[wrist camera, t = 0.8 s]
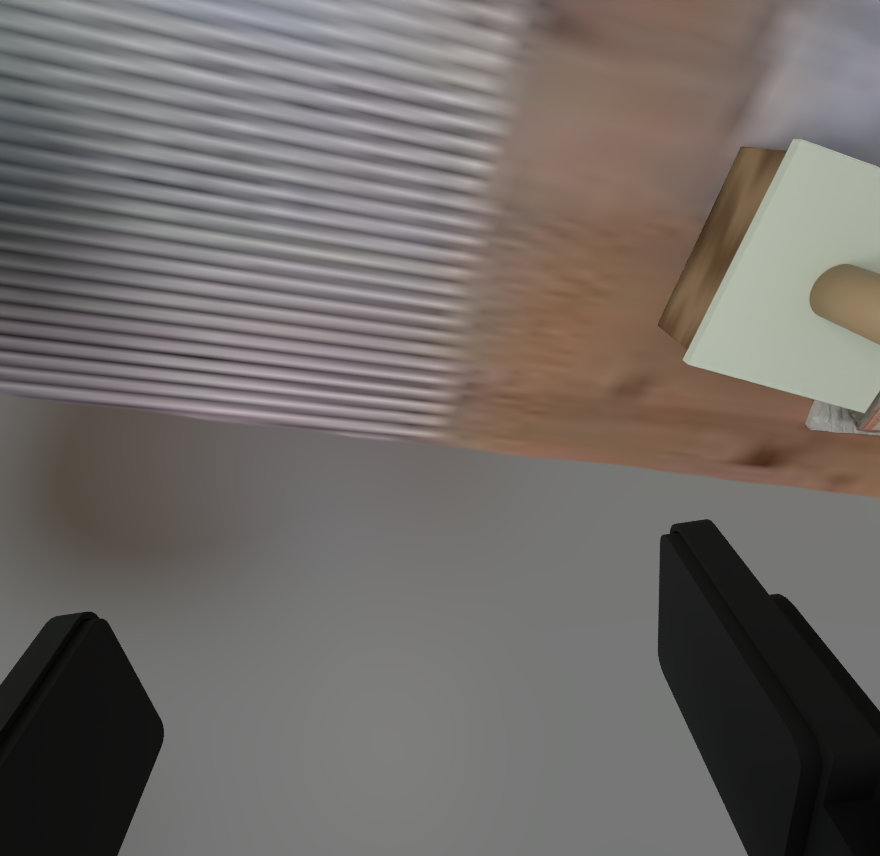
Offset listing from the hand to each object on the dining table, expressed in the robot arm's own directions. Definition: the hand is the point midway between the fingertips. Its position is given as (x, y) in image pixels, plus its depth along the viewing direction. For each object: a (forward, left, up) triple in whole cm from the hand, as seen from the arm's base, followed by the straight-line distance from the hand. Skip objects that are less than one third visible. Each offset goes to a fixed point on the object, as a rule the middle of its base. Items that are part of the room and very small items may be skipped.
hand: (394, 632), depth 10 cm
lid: (-6, +25, -27) cm, 37 cm away
